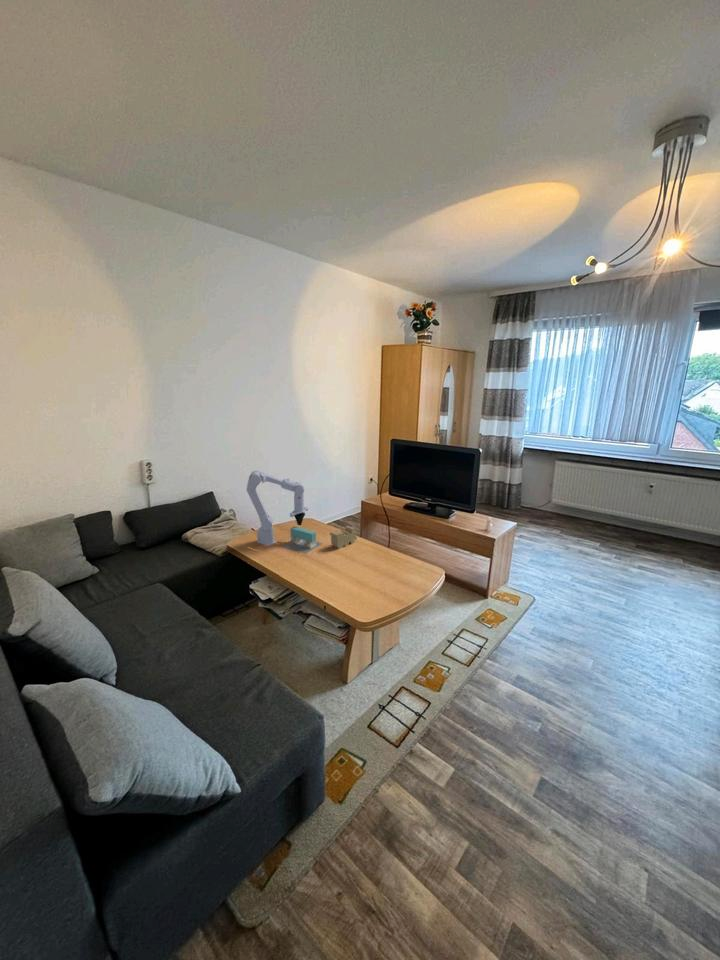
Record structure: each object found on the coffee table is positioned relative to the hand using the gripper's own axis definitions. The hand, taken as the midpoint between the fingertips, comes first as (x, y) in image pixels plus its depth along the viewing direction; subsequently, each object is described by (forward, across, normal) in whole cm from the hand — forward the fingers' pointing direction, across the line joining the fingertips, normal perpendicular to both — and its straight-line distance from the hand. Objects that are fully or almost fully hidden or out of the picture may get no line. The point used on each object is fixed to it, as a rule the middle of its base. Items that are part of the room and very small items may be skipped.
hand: (299, 524), depth 230 cm
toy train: (+11, +9, -26) cm, 30 cm away
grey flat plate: (+10, -5, -6) cm, 13 cm away
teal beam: (+6, -4, -6) cm, 9 cm away
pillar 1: (+10, -4, -1) cm, 11 cm away
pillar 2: (+10, -4, -11) cm, 15 cm away
